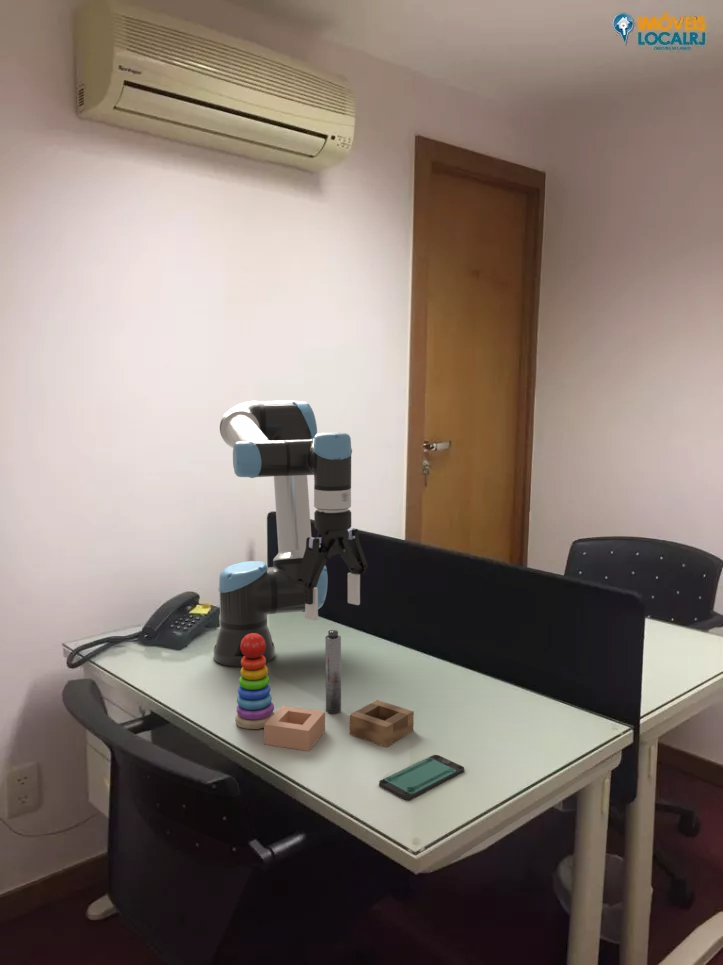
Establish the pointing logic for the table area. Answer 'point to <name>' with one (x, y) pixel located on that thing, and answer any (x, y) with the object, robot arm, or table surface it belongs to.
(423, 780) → the smartphone
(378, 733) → the brown wooden square holder
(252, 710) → the stacking toy
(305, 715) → the pink square socket block
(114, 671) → the table surface
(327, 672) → the grey capped cylinder
